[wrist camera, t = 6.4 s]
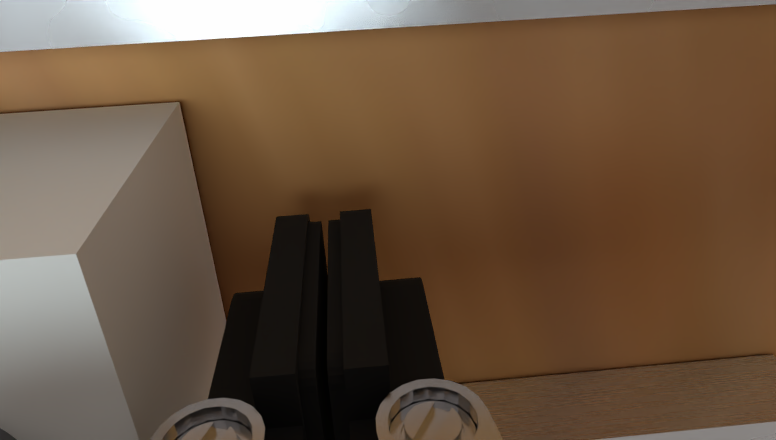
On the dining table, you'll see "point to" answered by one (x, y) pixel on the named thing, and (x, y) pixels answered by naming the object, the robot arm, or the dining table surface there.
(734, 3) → the piston rail
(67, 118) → the block
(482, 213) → the dining table surface
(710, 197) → the dining table surface
